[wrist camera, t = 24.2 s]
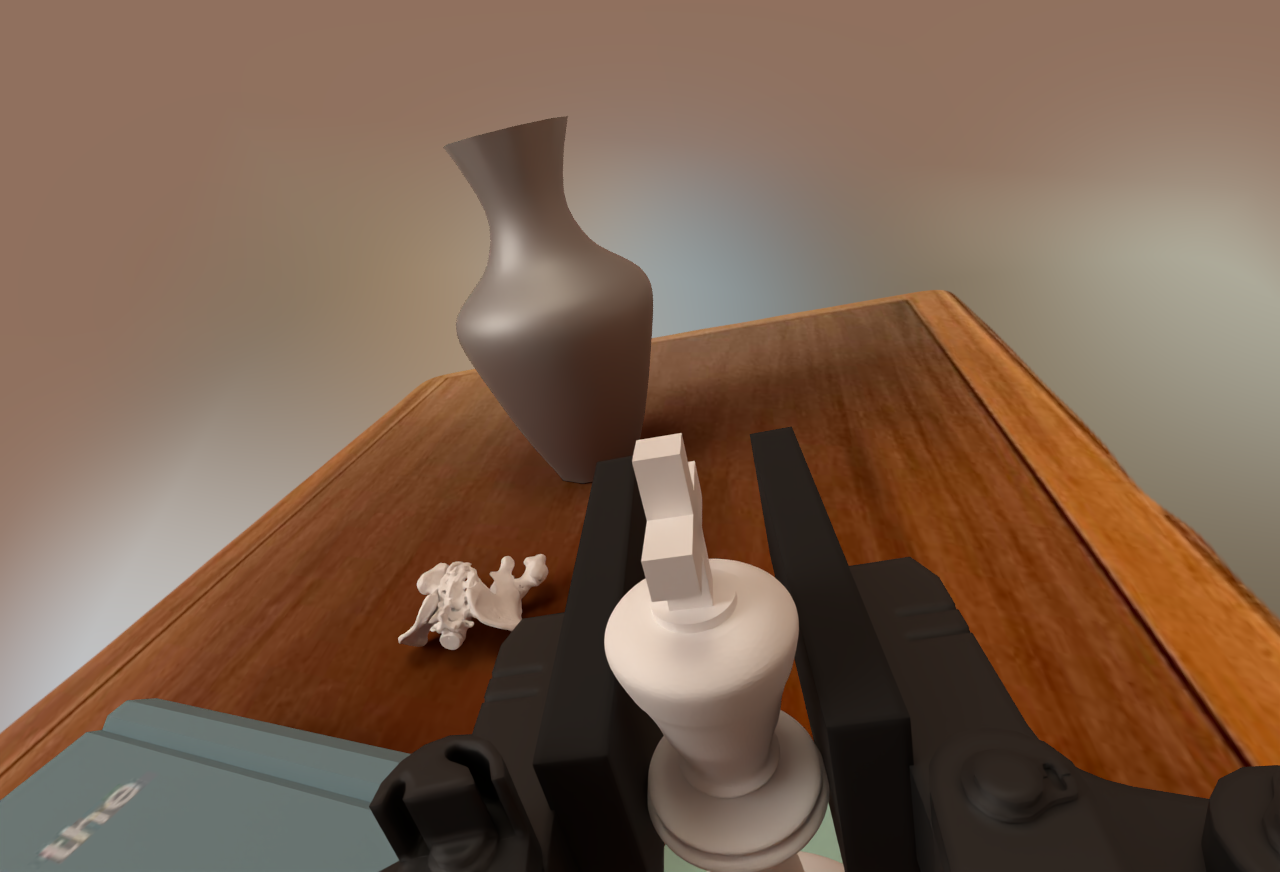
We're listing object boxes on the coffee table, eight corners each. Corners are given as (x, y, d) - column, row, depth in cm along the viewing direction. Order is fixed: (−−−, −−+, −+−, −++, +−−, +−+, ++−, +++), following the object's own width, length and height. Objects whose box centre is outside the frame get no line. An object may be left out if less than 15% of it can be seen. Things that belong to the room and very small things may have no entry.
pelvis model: (546, 528, 39) (507, 594, 33) (563, 590, 40) (529, 665, 34) (422, 541, 40) (362, 606, 34) (442, 600, 42) (388, 673, 36)
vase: (660, 507, 45) (562, 106, 35) (478, 515, 50) (347, 165, 40) (701, 416, 58) (637, 99, 48) (552, 430, 63) (465, 145, 53)
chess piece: (917, 861, 12) (874, 321, 8) (1043, 1302, 7) (1093, 581, 3) (646, 875, 13) (484, 393, 9) (616, 1279, 8) (257, 676, 4)
